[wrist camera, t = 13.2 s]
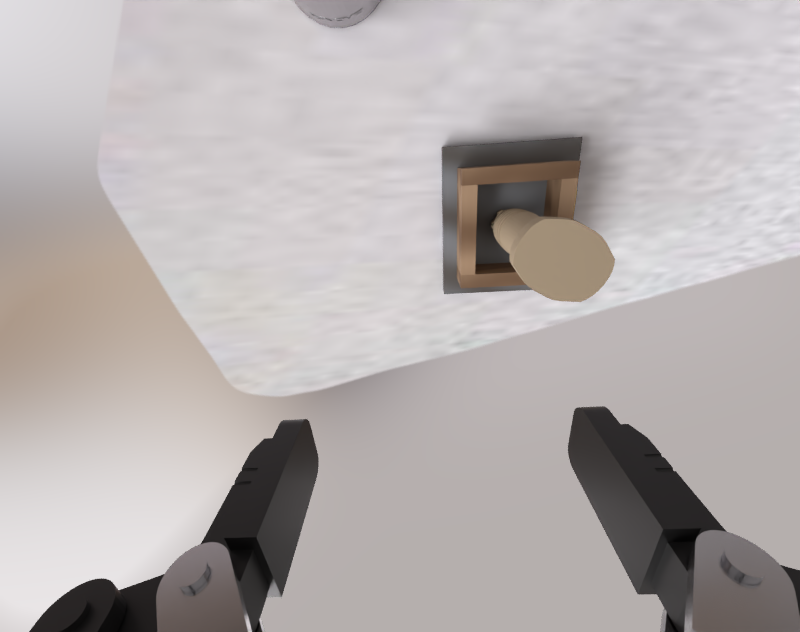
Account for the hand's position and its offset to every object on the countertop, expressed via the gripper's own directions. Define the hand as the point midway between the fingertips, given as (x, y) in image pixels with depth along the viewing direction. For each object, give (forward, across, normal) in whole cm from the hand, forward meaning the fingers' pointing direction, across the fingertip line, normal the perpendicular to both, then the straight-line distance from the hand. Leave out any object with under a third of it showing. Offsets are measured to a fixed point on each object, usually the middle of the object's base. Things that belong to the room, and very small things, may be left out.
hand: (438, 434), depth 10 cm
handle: (+28, -9, -1) cm, 30 cm away
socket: (+29, -9, -1) cm, 31 cm away
